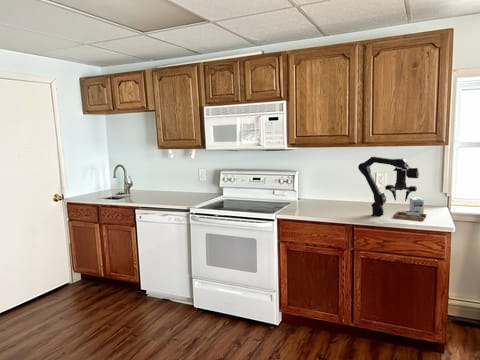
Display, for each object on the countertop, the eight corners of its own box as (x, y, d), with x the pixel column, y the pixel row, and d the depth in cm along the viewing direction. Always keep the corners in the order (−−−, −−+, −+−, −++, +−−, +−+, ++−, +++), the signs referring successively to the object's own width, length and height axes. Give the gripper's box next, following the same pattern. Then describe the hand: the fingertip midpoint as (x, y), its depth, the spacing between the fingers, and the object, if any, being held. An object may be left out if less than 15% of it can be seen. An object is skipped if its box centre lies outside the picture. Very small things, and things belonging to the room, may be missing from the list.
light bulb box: (423, 215, 250) (424, 199, 249) (413, 215, 251) (413, 199, 250) (419, 211, 261) (419, 196, 259) (409, 211, 262) (409, 196, 260)
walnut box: (393, 219, 241) (393, 215, 241) (397, 215, 251) (397, 211, 251) (423, 222, 231) (423, 217, 231) (426, 218, 241) (426, 214, 240)
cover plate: (406, 218, 239) (406, 214, 238) (408, 215, 245) (408, 211, 245) (419, 219, 234) (419, 215, 234) (421, 217, 241) (421, 212, 240)
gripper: (383, 178, 240) (383, 201, 242) (414, 179, 229) (413, 204, 231) (387, 176, 249) (386, 198, 251) (417, 177, 238) (416, 200, 240)
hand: (400, 200), depth 243 cm, fingers open, 6 cm apart
